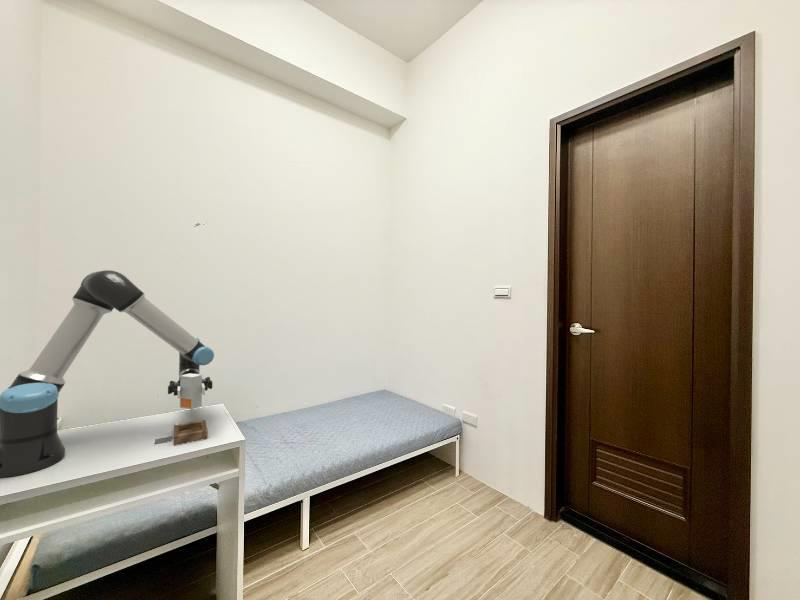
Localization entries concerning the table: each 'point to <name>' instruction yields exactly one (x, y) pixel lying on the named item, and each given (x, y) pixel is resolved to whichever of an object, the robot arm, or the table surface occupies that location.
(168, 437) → the flat gray slab
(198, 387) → the skincare box
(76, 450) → the table surface
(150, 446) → the table surface
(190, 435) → the socket block
